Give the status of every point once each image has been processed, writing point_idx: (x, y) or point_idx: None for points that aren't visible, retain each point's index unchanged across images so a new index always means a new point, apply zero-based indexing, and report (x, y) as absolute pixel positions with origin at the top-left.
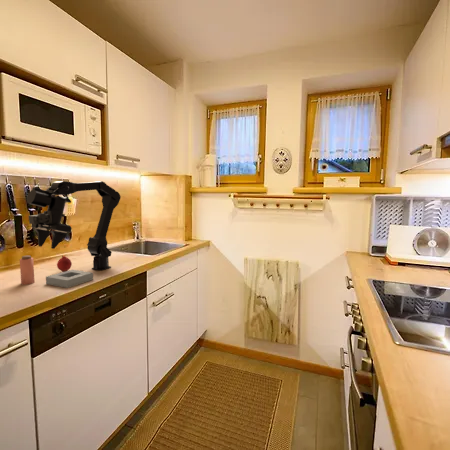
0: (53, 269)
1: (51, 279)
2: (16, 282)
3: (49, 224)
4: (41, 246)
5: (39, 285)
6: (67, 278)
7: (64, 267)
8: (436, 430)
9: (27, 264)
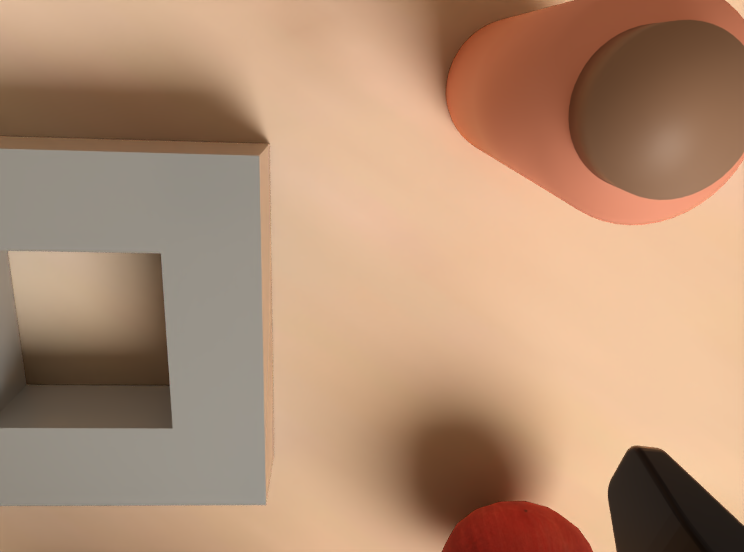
0: None
1: (152, 150)
2: None
3: None
4: (609, 487)
5: (288, 73)
6: None
7: (456, 532)
8: None
9: (520, 52)
